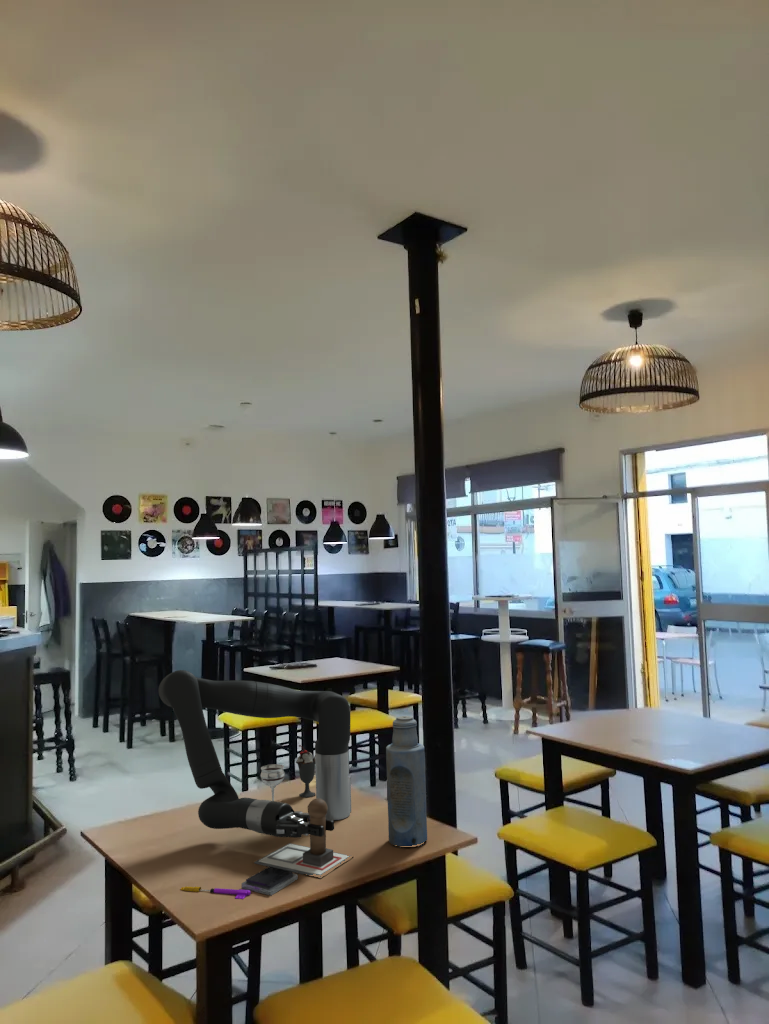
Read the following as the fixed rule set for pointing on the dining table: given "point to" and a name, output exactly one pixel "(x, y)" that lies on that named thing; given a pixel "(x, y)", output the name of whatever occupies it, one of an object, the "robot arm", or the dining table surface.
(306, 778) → the sundae
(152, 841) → the dining table surface
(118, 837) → the dining table surface
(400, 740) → the bottle
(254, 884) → the ink pad
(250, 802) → the robot arm
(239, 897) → the marker pen
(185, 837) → the dining table surface
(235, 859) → the dining table surface
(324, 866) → the print sheet
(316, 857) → the stamp
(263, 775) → the wineglass
